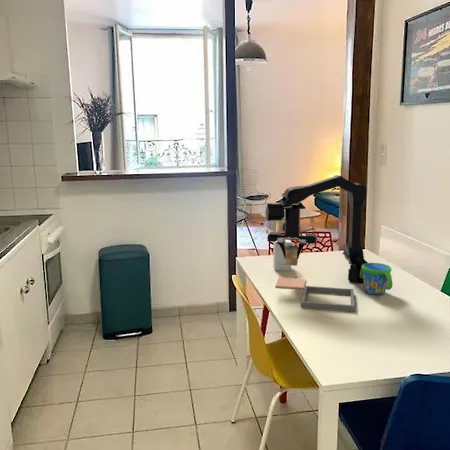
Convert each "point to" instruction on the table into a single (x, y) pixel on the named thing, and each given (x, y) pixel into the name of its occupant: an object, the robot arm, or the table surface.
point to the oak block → (291, 255)
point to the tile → (290, 283)
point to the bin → (328, 305)
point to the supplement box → (280, 257)
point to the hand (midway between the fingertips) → (291, 258)
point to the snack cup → (376, 278)
